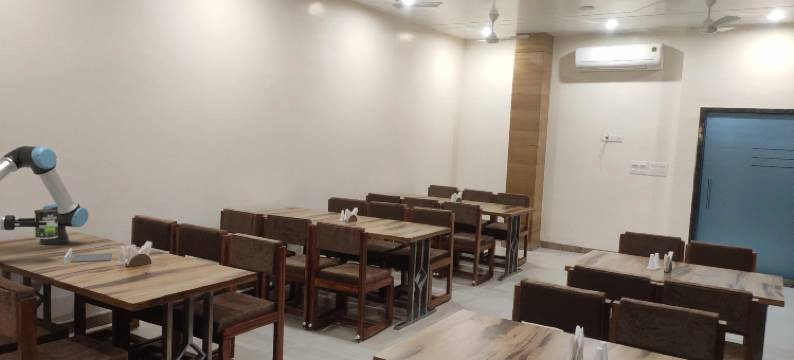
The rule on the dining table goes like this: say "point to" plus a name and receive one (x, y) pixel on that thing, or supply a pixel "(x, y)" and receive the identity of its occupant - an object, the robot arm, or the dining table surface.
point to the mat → (91, 257)
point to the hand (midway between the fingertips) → (56, 221)
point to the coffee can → (46, 231)
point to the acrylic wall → (68, 256)
